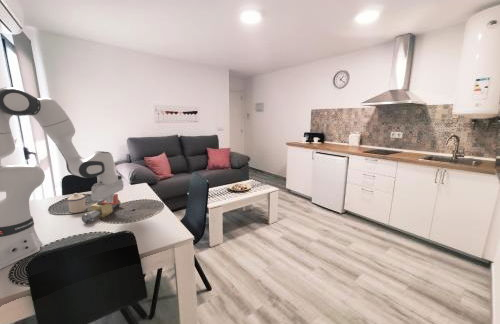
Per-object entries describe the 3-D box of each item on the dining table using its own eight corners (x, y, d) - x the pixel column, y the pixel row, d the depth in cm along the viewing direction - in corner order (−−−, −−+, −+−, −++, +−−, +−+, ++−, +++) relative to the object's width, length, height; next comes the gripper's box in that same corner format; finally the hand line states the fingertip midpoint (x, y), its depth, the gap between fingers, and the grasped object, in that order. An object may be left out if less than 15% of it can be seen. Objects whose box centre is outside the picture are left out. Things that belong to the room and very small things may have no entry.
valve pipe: (92, 223, 122) (90, 211, 121) (81, 223, 123) (79, 210, 122) (122, 207, 146) (120, 196, 144) (112, 206, 147) (111, 195, 145)
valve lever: (96, 204, 131) (94, 194, 130) (100, 201, 134) (99, 192, 133) (115, 205, 129) (114, 195, 128) (119, 202, 133) (118, 193, 132)
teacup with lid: (90, 208, 143) (87, 192, 140) (75, 214, 134) (72, 196, 132) (78, 206, 147) (75, 189, 145) (63, 211, 139) (59, 194, 136)
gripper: (96, 185, 112) (100, 210, 115) (124, 175, 132) (126, 196, 135) (86, 184, 113) (89, 209, 116) (114, 174, 133) (117, 196, 136)
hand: (109, 202), depth 126 cm, fingers closed
